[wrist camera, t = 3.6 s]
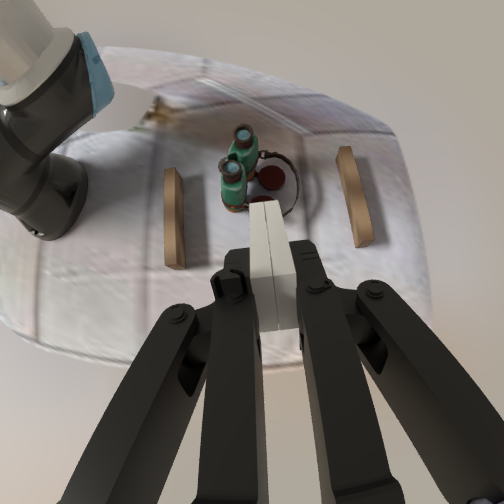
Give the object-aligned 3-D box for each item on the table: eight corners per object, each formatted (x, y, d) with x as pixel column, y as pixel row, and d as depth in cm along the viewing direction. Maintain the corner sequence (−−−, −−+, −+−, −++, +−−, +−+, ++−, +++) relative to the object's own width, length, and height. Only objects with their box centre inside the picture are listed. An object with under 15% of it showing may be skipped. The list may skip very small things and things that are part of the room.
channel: (366, 246, 35) (374, 239, 31) (174, 269, 36) (164, 265, 33) (345, 159, 38) (350, 146, 34) (172, 180, 39) (164, 169, 36)
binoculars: (301, 205, 27) (200, 180, 27) (286, 233, 37) (213, 214, 37) (316, 132, 28) (227, 111, 29) (300, 174, 39) (232, 157, 39)
